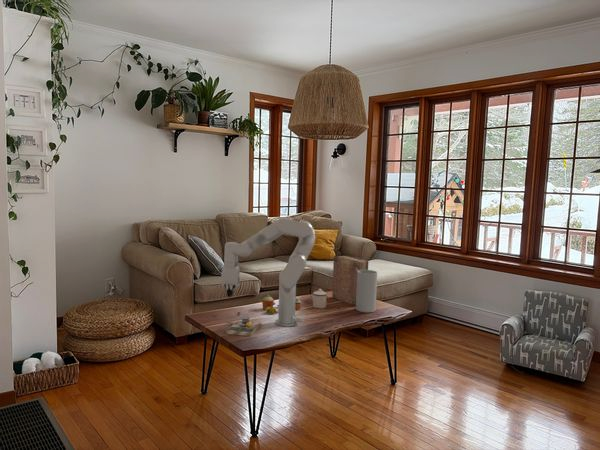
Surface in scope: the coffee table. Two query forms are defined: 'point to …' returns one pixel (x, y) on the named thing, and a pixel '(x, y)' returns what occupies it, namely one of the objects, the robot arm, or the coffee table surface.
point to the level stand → (243, 329)
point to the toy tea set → (269, 303)
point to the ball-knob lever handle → (244, 320)
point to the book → (346, 277)
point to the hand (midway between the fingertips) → (229, 296)
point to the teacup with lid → (319, 299)
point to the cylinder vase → (366, 291)
